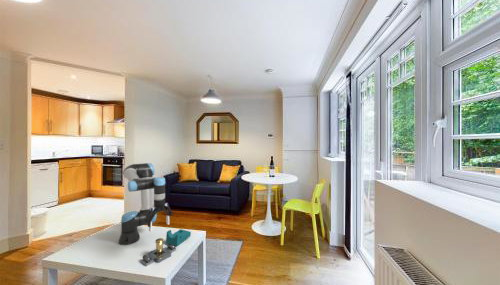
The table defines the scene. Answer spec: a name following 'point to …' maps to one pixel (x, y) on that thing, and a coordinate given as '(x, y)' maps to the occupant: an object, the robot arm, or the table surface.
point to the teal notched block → (177, 237)
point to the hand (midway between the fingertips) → (159, 227)
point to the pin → (159, 246)
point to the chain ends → (154, 257)
